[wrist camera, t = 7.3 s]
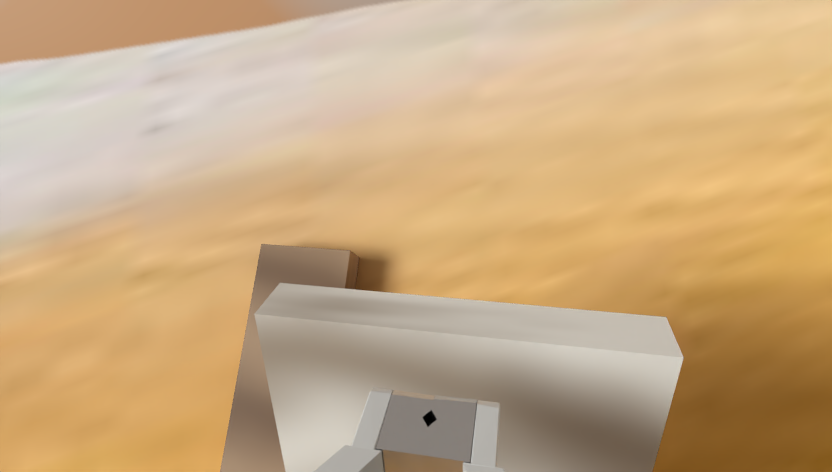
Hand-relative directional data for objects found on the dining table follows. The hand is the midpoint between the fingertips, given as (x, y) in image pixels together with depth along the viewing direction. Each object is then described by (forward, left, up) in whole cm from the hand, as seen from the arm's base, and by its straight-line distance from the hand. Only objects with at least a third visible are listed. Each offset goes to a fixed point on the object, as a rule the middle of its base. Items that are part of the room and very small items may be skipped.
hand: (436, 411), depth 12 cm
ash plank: (-5, 0, -10) cm, 11 cm away
